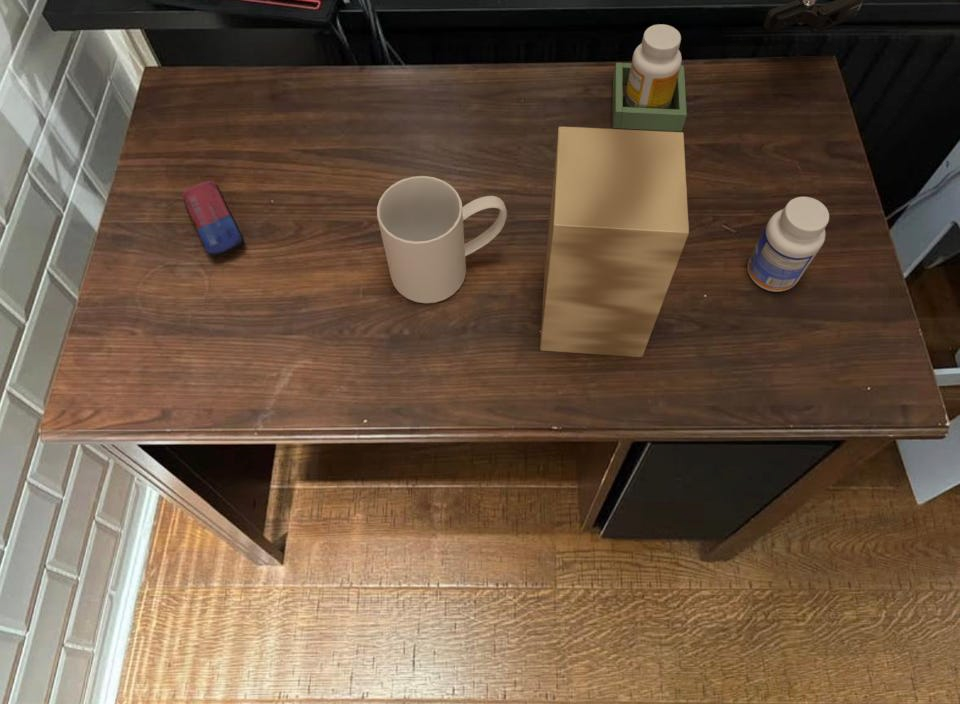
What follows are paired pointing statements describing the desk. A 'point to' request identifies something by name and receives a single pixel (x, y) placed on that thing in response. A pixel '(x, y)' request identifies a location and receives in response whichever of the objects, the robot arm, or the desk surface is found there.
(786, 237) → the pill bottle
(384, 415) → the desk surface
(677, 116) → the bottle holder
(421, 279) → the mug
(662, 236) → the block
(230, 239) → the eraser
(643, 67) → the supplement bottle
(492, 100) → the desk surface
